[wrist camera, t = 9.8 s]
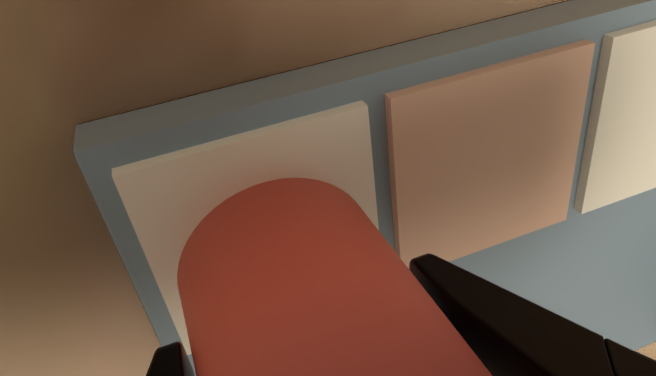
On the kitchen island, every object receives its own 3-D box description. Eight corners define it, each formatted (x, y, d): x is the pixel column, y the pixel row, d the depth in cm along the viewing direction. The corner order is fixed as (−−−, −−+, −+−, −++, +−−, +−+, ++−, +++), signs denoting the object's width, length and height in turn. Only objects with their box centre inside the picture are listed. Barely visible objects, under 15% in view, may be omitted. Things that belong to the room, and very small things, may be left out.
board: (798, 250, 24) (835, 270, 23) (234, 486, 18) (243, 531, 17) (973, -102, 16) (1044, -99, 15) (75, 125, 10) (71, 160, 9)
